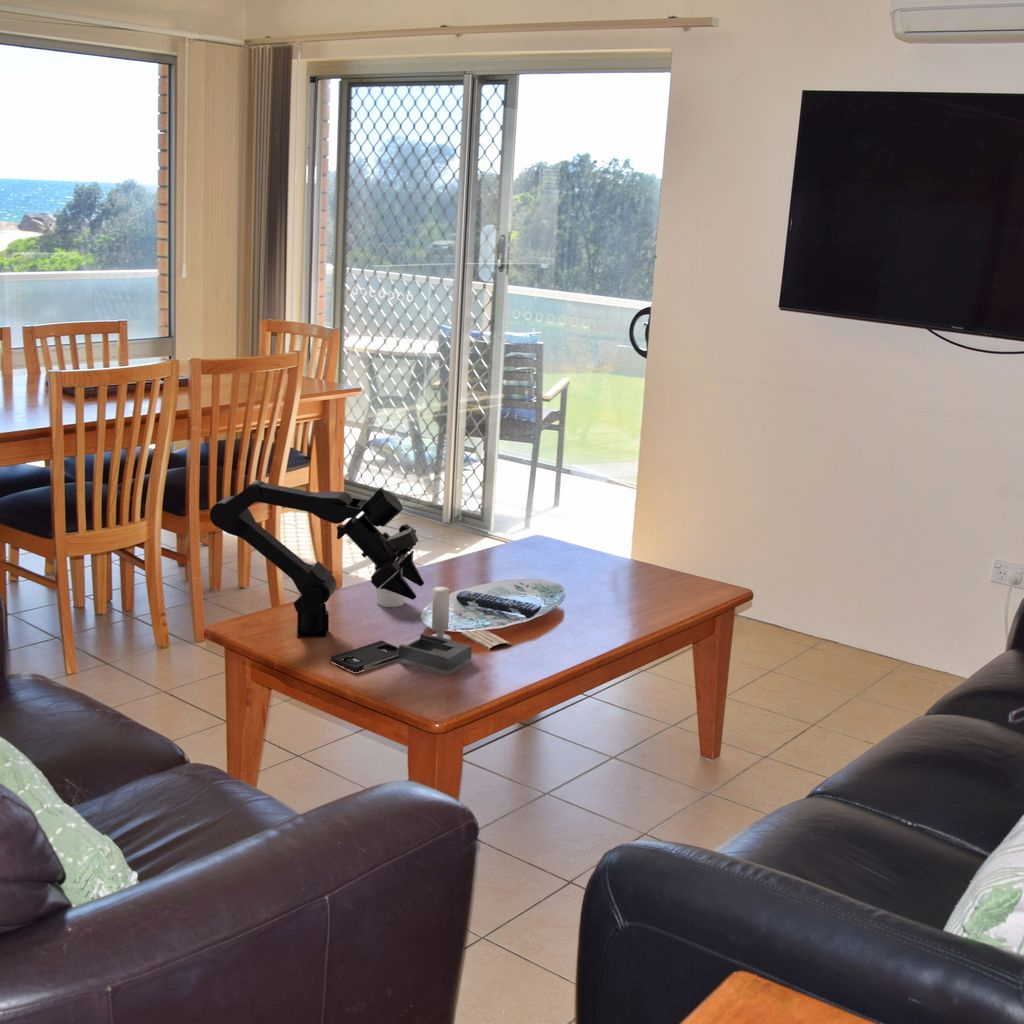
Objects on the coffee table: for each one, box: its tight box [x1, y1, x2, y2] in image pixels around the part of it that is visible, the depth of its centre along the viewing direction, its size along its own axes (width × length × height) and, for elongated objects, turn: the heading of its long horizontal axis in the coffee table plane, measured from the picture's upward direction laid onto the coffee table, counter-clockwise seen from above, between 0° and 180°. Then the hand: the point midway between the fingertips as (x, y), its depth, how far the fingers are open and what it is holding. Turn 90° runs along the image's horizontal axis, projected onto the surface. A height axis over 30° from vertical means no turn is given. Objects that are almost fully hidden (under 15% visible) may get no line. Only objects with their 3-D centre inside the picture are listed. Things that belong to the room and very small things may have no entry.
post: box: [431, 586, 452, 641], centre depth 262 cm, size 5×5×12 cm
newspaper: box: [459, 629, 512, 651], centre depth 271 cm, size 24×7×2 cm, turn 36°
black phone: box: [330, 640, 399, 672], centre depth 252 cm, size 14×8×2 cm, turn 138°
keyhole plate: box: [398, 633, 473, 677], centre depth 252 cm, size 12×9×4 cm
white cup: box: [374, 564, 408, 608], centre depth 286 cm, size 8×8×10 cm
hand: (418, 591), depth 261 cm, fingers open, 9 cm apart
